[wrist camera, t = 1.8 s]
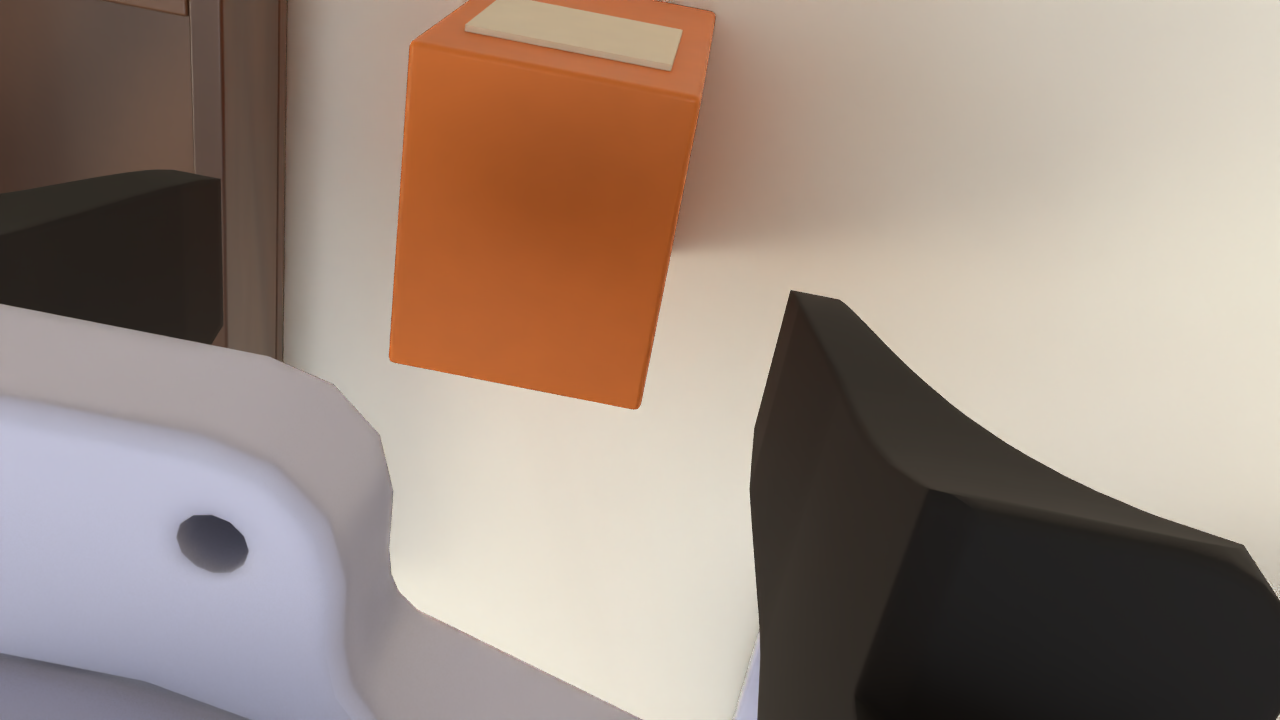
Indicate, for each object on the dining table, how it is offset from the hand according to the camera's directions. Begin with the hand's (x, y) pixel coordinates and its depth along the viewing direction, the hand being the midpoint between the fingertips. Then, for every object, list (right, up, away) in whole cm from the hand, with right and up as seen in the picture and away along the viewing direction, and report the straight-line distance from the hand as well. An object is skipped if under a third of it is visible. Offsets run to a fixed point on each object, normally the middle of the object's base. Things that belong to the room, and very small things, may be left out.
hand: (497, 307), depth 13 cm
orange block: (+1, +4, +8) cm, 9 cm away
